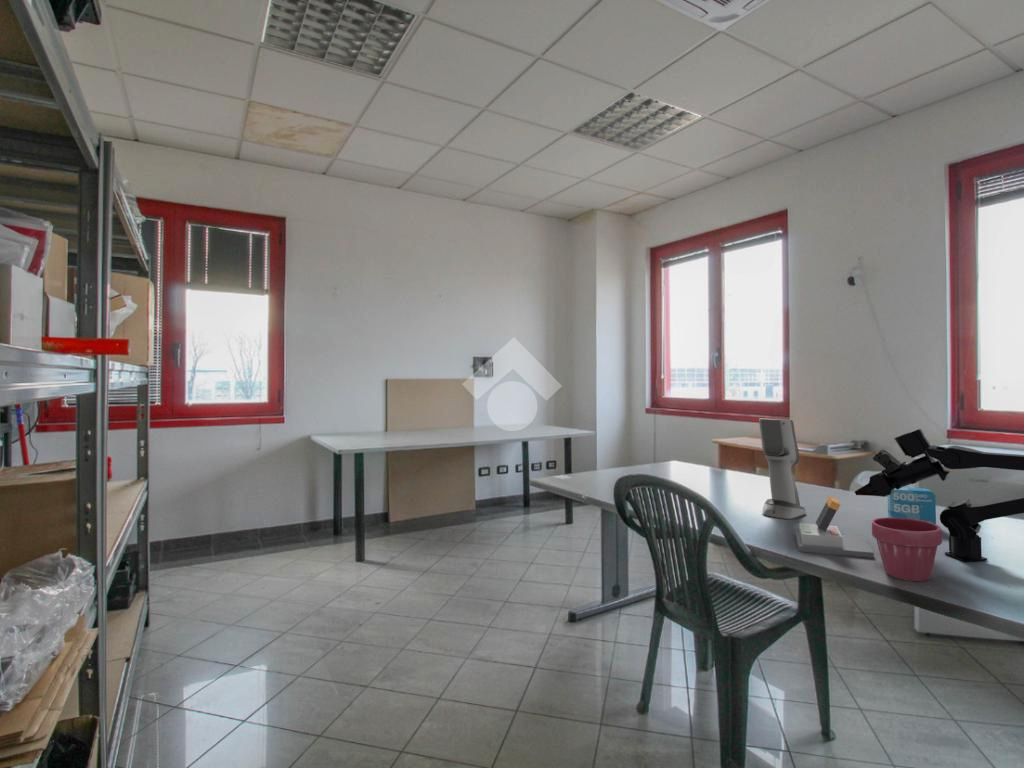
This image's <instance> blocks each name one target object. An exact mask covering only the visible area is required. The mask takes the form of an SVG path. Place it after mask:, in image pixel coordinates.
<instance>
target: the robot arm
mask: <svg viewBox="0 0 1024 768" xmlns="http://www.w3.org/2000/svg"><path fill="white" fill-rule="evenodd" d="M893 439H894V441H895V443H896V444H897V445H898V446H899V448H900V450H901V451H902V453H903V455H904V456H905V457H908V458H911V459H913V458H916V457H918V458H916V459H913V460H910V461H904V462H903V461H902V462H900V461H899V460H898V458H896V457H895V456H894V455H892V454H891V453H889V452H888V451H887V450H885V449H883V448H882V449H881V450H879V451H878V452H877V453H875V455H873V456H872V457H871V458H872V460H873V461H874V462H877V463H878V464H879V465H881V466H882V467H883V468H884V469H883V470H881V471H880V472H878V473H875V474H873V475H871V476H870V477H869V480H868V483H867V484H865V485H863V486H861V487H860V488H858V489H856V490H855V491H854V494H855V495H856V496H868V497H869V496H871V497H872V496H873V497H880V498H881V497H883V498H884V497H887V496H888V495H890V494H892V493H893V492H894V489H895V488H896V489H900V488H902V487H903V488H905V487H906V486H909V485H913V484H916V483H918V482H921V481H924V480H927V479H930V478H933V477H935V476H938V477H939V478H940V479H941V481H942V482H944V481H946V480H947V479H948V476H949V474H950V473H951V471H950V470H964V469H965V470H967V469H968V470H969V469H978V468H979V469H980V468H988V469H1000V470H1013V471H1023V472H1024V454H1018V453H1017V454H1016V453H1015V454H1014V453H1002V452H988V451H982V450H977V449H974V448H970V447H965V446H959V445H950V446H947V447H945V446H939V445H934V444H932V445H931V443H930V442H929V440H928V439H927V437H926V436H925V434H924V431H922V429H921V428H918V429H916V430H914V431H911V432H907V433H903V434H901V435H899V436H897V437H895V438H893ZM921 455H923V456H921ZM919 456H921V457H919ZM945 468H946V469H945ZM1021 514H1024V495H1021V496H1020V495H1019V496H1017V497H1011V498H1004V499H999V500H996V501H995V500H994V501H991V502H985V503H971V500H970V499H969V498H968V499H964V500H962V501H959V502H956V501H955V502H954V501H952V502H951V503H950V504H949V505H947V506H946V508H944V509H943V510H942V511H941V512H940V514H939V521H940V523H941V524H942V526H944V528H946V529H947V530H948V532H949V536H948V551H944V555H946V556H949V557H951V558H954V559H957V560H959V561H963V562H967V563H968V562H982V561H985V562H986V561H988V558H987V557H984V556H982V553H983V552H982V537H980V536H979V535H978V533H980V530H981V528H982V525H981V524H979V523H982V522H984V521H988V520H994V519H997V518H1004V517H1009V516H1015V515H1021Z"/></svg>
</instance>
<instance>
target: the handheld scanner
mask: <svg viewBox="0 0 1024 768" xmlns="http://www.w3.org/2000/svg"><path fill="white" fill-rule="evenodd" d="M758 424H759V431H760V440H761V447H762V451H763V454H764V456H765V459H766V461H767V463H768V473H769V485H770V486H769V487H770V495H771V498H767V500H765V502H764V504H763V507H762V512H761V514H762V515H763V516H765V515H766V516H765V517H770V518H775V519H780V520H793V519H797V518H799V517H802V516H804V515H806V514H807V512H806V508H804V506H801V502H800V497H799V492H798V488H797V484H796V482H795V481H796V480H795V478H794V477H795V476H794V473H793V467H794V466H795V465H797V464H798V463H799V461H800V453H799V447H798V442H797V437H796V430H795V425H794V420H792V419H786V418H765V417H764V418H763V417H759V419H758Z"/></svg>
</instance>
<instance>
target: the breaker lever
mask: <svg viewBox="0 0 1024 768" xmlns="http://www.w3.org/2000/svg"><path fill="white" fill-rule="evenodd" d="M840 507H841V504H840V501H839V500H838V498H837V497H836V498H835V497H834V496H831V495H828V497H827V499H826V502H825V503H824V506H823V508H822V510H821V512H820V513H819V516H818V517H817V519H816V521H815V523H816V524H815V525H817V526H818V528H819V529H821V530H823V531H825V532H826V530H827V528H828V526H830V524H831V522H832V521H833V518H834V517H835V515H836V513H837V511H838V510H839V508H840Z"/></svg>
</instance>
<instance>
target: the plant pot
mask: <svg viewBox="0 0 1024 768" xmlns="http://www.w3.org/2000/svg"><path fill="white" fill-rule="evenodd" d="M871 535H872V537H874V539H876V542H877V547H878V551H879V555H880V558H881V561H882V565H883V569H884V571H885V573H886V574H887V575H889V576H890V577H893V578H896V579H899V580H903V581H904V580H905V581H911V582H912V581H913V582H926V581H929V580H930V579H931V575H932V572H933V567H934V563H935V559H936V554H937V550H938V546H940V545H942V542H943V535H942V527H941V526H940V525H938V524H937V523H936V524H934V523H931V522H927V521H922V520H917V519H909V518H893V517H889V518H888V517H878V518H874V519H872V521H871Z"/></svg>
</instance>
